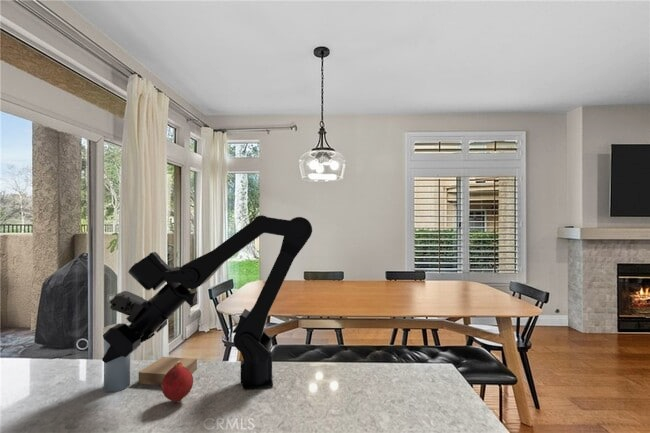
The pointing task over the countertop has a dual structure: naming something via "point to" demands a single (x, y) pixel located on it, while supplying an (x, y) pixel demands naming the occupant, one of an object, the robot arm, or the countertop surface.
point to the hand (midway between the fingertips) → (110, 356)
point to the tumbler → (116, 369)
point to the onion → (177, 382)
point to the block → (163, 369)
